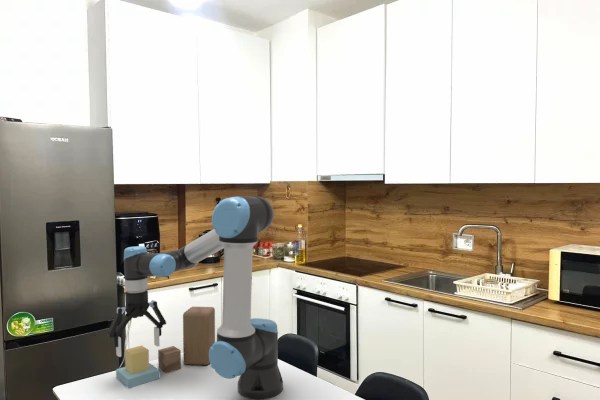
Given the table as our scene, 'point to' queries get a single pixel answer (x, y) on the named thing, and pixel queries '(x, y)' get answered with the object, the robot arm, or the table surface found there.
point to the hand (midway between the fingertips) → (138, 350)
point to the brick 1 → (136, 359)
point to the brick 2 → (169, 359)
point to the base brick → (137, 376)
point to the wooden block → (198, 335)
